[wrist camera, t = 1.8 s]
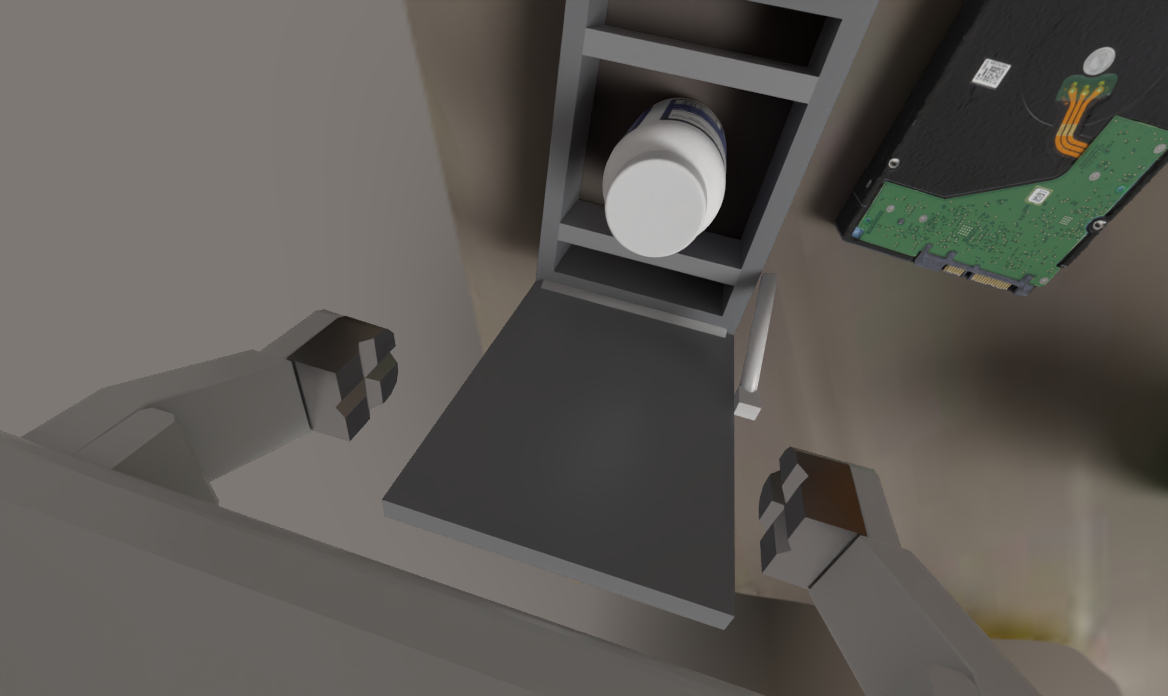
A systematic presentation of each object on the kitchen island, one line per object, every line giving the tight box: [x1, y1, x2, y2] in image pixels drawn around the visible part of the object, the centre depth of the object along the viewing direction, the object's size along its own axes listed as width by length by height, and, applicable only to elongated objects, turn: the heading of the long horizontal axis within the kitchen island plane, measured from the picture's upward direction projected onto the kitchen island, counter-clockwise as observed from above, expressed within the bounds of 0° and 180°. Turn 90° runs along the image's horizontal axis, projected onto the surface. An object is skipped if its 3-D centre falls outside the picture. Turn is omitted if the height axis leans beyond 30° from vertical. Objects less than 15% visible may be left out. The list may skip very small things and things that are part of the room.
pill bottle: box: [603, 98, 726, 257], centre depth 23 cm, size 5×5×10 cm
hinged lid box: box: [382, 0, 879, 630], centre depth 19 cm, size 17×13×20 cm
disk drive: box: [835, 0, 1168, 296], centre depth 21 cm, size 10×3×15 cm
